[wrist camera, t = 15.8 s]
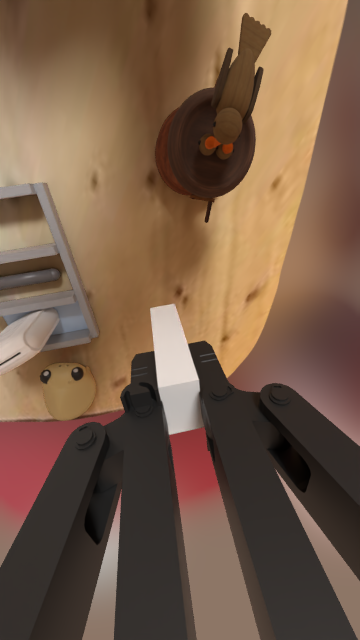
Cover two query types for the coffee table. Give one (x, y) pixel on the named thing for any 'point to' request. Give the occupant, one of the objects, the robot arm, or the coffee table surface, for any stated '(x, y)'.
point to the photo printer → (26, 337)
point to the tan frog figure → (67, 390)
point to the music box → (215, 126)
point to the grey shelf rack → (49, 279)
